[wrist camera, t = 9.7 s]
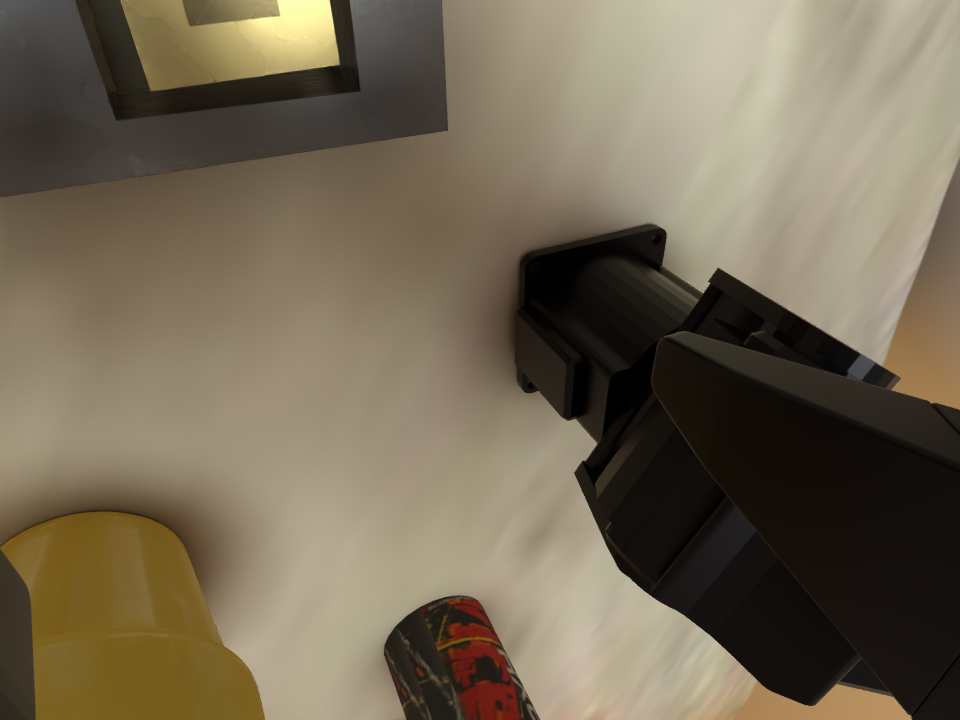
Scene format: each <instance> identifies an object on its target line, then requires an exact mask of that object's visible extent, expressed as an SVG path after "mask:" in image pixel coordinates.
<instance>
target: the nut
mask: <svg viewBox="0 0 960 720" xmlns="http://www.w3.org/2000/svg"><path fill="white" fill-rule="evenodd" d="M120 1H121V4H122V7H123V10H124V13H125V16H126V19H127V22H128V25H129V28H130V31H131V34H132V37H133V40H134V43H135V46H136V49H137V52H138V55H139V58H140V61H141V64H142V67H143V70H144V73H145V76H146V79H147V82H148V85H149V88H150V91H158V90H165V89H172V88H179V87H186V86H193V85H200V84H207V83H215V82H222V81H229V80H236V79H243V78H250V77H257V76H264V75H271V74H278V73H285V72H292V71H299V70H307V69H314V68H321V67H328V66H335V65H340V61H339V55H338V49H337V43H336V37H335V30H334V24H333V18H332V12H331V6H330V0H120Z"/></svg>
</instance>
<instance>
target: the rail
mask: <svg viewBox="0 0 960 720" xmlns="http://www.w3.org/2000/svg"><path fill="white" fill-rule="evenodd" d="M330 6H331V12H332V18H333V24H334V30H335V37H336V43H337V49H338V55H339V61H340V65H335V66H331V68H332V69H325V70H316V71H307V72H297V73H288V74H279V75H270V76H260V77H251V78H243V79H236V80H229V81H222V82H215V83H207V84H200V85H193V86H186V87H179V88H172V89H165V90H158V91H150V89H140V90H131V91H122V92H117V89H116V86H115V83H114V80H113V77H112V74H111V71H110V68H109V65H108V62H107V59H106V56H105V53H104V50H103V47H102V44H101V41H100V38H99V35H98V32H97V29H96V26H95V23H94V20H93V17H92V14H91V11H90V8H89V5H88V2H87V0H0V197H6V196H13V195H19V194H26V193H33V192H39V191H46V190H53V189H60V188H66V187H73V186H80V185H86V184H93V183H100V182H106V181H113V180H120V179H127V178H133V177H140V176H147V175H153V174H160V173H167V172H174V171H180V170H187V169H194V168H200V167H207V166H214V165H220V164H227V163H234V162H241V161H247V160H254V159H261V158H267V157H274V156H281V155H287V154H294V153H301V152H308V151H314V150H321V149H328V148H334V147H341V146H348V145H354V144H361V143H368V142H375V141H381V140H388V139H395V138H401V137H408V136H415V135H422V134H428V133H435V132H442V131H448V121H447V100H446V79H445V58H444V37H443V16H442V0H330Z"/></svg>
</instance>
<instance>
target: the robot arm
mask: <svg viewBox="0 0 960 720" xmlns="http://www.w3.org/2000/svg"><path fill="white" fill-rule="evenodd" d="M654 235H655V238H654V239H653V240H652V238H653V237H654ZM666 238H667V233H666V231H665V230H664V229H662V228H661V227H659V226H657V225H648V226H644V227H640V228H635V229H631V230H626V231H622V232H618V233H613V234H609V235H604V236H600V237H596V238H591V239H587V240H582V241H578V242H573V243H569V244H565V245H560V246H556V247H551V248H547V249H543V250H538V251H534V252H531V253H528V254H527V255H526V256H525V257H523V259H522V261H521V264H520V291H519V307H518V309H517V311H516V314H515V363H516V365H517V366H518V385H519V386H520V387H521V389H522V390H523V391H524V392H525V393H533V392H536V391H540V393H541V394H542V395H543V396H544V397H545V398H546V400H547V401H548V402H549V403H550V404H551V405H552V407H553V408H554V409H555V410H556V411H557V412H558V414H559V415H560V416H561V417H562V418H564V419H566V420H567V421H570V420H573V419H576V420H577V421H578V422H579V423H580V424H581V425H582V427H583V428H584V429H585V430H586V431H587V432H588V433H589V434H590V436H591V437H592V438H593V439H594V440H595V441H596V442H597V445H596V447H595V448H594V450H593V451H592V453H591V454H590V455H589V457H588V458H587V460H586V461H582V462H581V464H580V465H579V467H578V468H577V469H576V471H575V472H574V473H575V476H576V478H577V480H578V483H579V485H580V487H581V489H582V492H583V494H584V496H585V498H586V501H587V503H588V505H589V507H590V509H591V512H592V514H593V516H594V518H595V521H596V523H597V525H598V527H599V530H600V532H601V534H602V536H603V539H604V541H605V543H606V545H607V547H608V549H609V551H610V553H611V555H612V556H613V558H614V560H615V562H616V565H617V567H618V568H619V570H620V571H621V572H622V573H624V574H625V575H626V576H628V577H629V578H631V580H632V581H633V582H635V583H636V584H637V585H638V586H639V587H640V588H642V589H643V590H644V591H645V592H646V593H648V594H649V595H651V596H652V597H653V598H655V599H656V600H658V601H659V602H661V603H663V604H665V605H667V606H668V607H670V608H672V609H675V610H676V611H678V612H680V613H681V614H683V615H685V616H686V617H687V618H688V619H690V620H691V621H692V622H694V623H695V624H696V625H697V626H699V627H700V628H701V629H703V630H704V631H705V632H707V633H708V634H709V635H710V636H712V637H713V638H714V639H715V640H716V641H717V642H718V643H719V644H720V645H721V646H722V647H724V648H725V649H726V650H727V651H728V652H729V653H730V654H731V655H732V656H733V657H734V658H735V659H736V660H737V661H738V662H739V663H740V664H741V665H742V666H743V667H744V668H745V669H746V670H747V671H748V672H750V673H751V674H752V675H753V676H754V677H755V678H756V679H757V680H758V681H759V682H760V683H761V684H762V685H763V686H764V687H765V688H767V689H768V690H770V691H772V692H774V693H777V694H779V695H782V696H784V697H787V698H789V699H792V700H794V701H796V702H799V703H801V704H804V705H808V706H814V705H816V704H817V703H818V702H819V701H820V700H821V699H822V698H823V697H824V696H825V695H826V694H827V693H828V692H829V691H830V690H831V689H832V688H833V687H834V686H835V685H836V684H840V685H844V686H848V687H853V688H857V689H862V690H866V691H870V692H875V693H879V694H883V695H888V696H892V697H894V698H895V699H896V700H897V701H898V703H899V704H900V705H901V706H902V708H903V709H904V710H905V711H906V712H907V714H909V715H911V716H912V717H911V718H912V720H960V410H958V409H955V408H952V407H948V406H945V405H941V404H938V403H932V404H931V403H930V402H929V401H927V400H923V399H920V398H916V397H913V396H910V395H906V394H902V393H899V392H896V391H892V390H891V389H892V388H893V387H894V386H895V385H896V383H897V382H898V381H899V380H900V379H901V378H900V377H899V376H897V375H895V374H894V373H892V372H890V371H889V370H887V369H885V368H884V367H882V366H881V365H879V364H877V363H876V362H874V361H872V360H871V359H869V358H868V357H866V356H864V355H863V354H861V353H859V352H858V351H856V350H854V349H853V348H851V347H850V346H848V345H846V344H845V343H843V342H841V341H840V340H838V339H836V338H835V337H833V336H831V335H830V334H828V333H826V332H825V331H823V330H821V329H820V328H818V327H816V326H815V325H813V324H811V323H810V322H808V321H806V320H805V319H803V318H802V317H800V316H798V315H797V314H795V313H793V312H792V311H790V310H788V309H787V308H785V307H783V306H782V305H780V304H778V303H776V302H775V301H773V300H771V299H770V298H768V297H766V296H765V295H763V294H761V293H760V292H758V291H756V290H755V289H753V288H751V287H750V286H748V285H746V284H745V283H743V282H741V281H739V280H738V279H736V278H734V277H733V276H731V275H729V274H728V273H726V272H724V271H723V270H721V269H719V268H717V270H716V271H715V273H714V274H713V275H712V277H711V278H710V280H709V281H708V282H710V285H709V286H708V288H707V289H706V290H705V292H704V293H702V292H700V291H699V290H697V289H695V288H694V287H692V286H691V285H689V284H688V283H686V282H685V281H683V280H682V279H680V278H679V277H677V276H676V275H674V274H673V273H671V272H670V271H668V270H667V269H665V268H664V267H662V262H663V256H664V250H665V244H666ZM651 240H652V241H651ZM536 262H538V263H537V266H536V267H535V268H534V269H532V270H531V266H532V265H533V264H534V263H536ZM529 381H531V382H529ZM528 382H529V383H528ZM0 720H36V702H35V679H34V657H33V634H32V611H31V598H30V594H29V590H28V588H27V585H26V583H25V582H24V580H23V579H22V577H21V576H20V575H19V573H18V572H17V570H16V569H15V568H14V566H13V565H12V564H11V562H10V561H9V559H8V558H7V557H6V555H5V554H4V552H3V551H2V550H1V548H0Z"/></svg>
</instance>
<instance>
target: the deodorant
mask: <svg viewBox="0 0 960 720" xmlns="http://www.w3.org/2000/svg"><path fill="white" fill-rule="evenodd" d="M384 656H385V658H386V661H387V664H388V667H389V670H390V673H391V676H392V679H393V682H394V684H395V687H396V690H397V693H398V696H399V699H400V702H401V705H402V708H403V711H404V713H405V716H406V719H407V720H540V718H539V716H538V714H537V712H536V710H535V708H534V707H533V705H532V703H531V701H530V699H529V697H528V695H527V693H526V691H525V689H524V687H523V685H522V683H521V681H520V679H519V677H518V675H517V673H516V671H515V669H514V667H513V665H512V663H511V661H510V660H509V658H508V656H507V654H506V652H505V650H504V648H503V646H502V644H501V642H500V640H499V638H498V636H497V634H496V632H495V630H494V628H493V626H492V624H491V622H490V620H489V618H488V616H487V615H486V613H485V611H484V609H483V607H482V605H481V604H480V603H479V602H478V601H477V600H475V599H473V598H471V597H466V596H453V597H446V598H443V599H440V600H436V601H433V602H431V603H429V604H427V605H425V606H423V607H421V608H419V609H417V610H416V611H414V612H413V613H411V614H410V615H408V616H407V617H406V618H405V619H404V620H403V621H401V622H400V623H399V624H398V625H397V626H396V627H395V629H394V630H393V631H392V633H391V634H390V635H389V637H388V639H387V642H386V644H385V649H384Z"/></svg>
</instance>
